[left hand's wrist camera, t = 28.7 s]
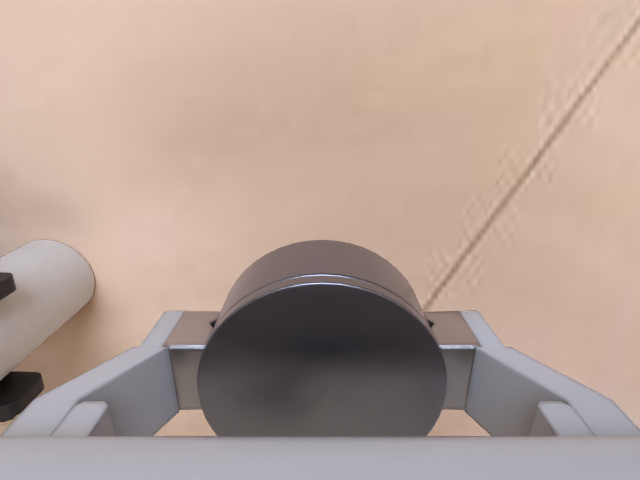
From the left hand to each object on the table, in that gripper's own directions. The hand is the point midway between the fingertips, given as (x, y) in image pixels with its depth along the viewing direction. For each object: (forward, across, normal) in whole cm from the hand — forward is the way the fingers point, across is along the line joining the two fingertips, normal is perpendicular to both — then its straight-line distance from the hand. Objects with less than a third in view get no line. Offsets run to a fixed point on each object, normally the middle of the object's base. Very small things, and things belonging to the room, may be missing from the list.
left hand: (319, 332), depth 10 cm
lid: (-2, 0, 0) cm, 2 cm away
